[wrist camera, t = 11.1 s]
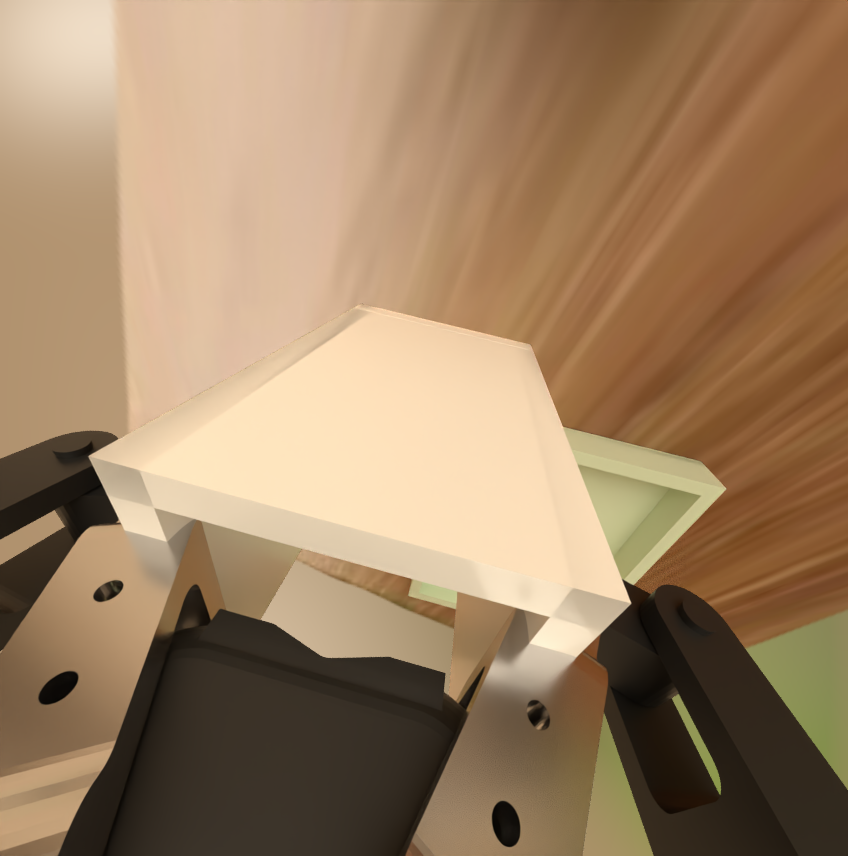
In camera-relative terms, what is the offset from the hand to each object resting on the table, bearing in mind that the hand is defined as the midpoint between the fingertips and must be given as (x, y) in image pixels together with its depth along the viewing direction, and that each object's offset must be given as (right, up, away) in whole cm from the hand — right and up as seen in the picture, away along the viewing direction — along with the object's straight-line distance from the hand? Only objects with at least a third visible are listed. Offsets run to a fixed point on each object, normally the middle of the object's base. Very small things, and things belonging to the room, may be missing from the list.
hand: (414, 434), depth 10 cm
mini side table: (0, +1, +2) cm, 3 cm away
